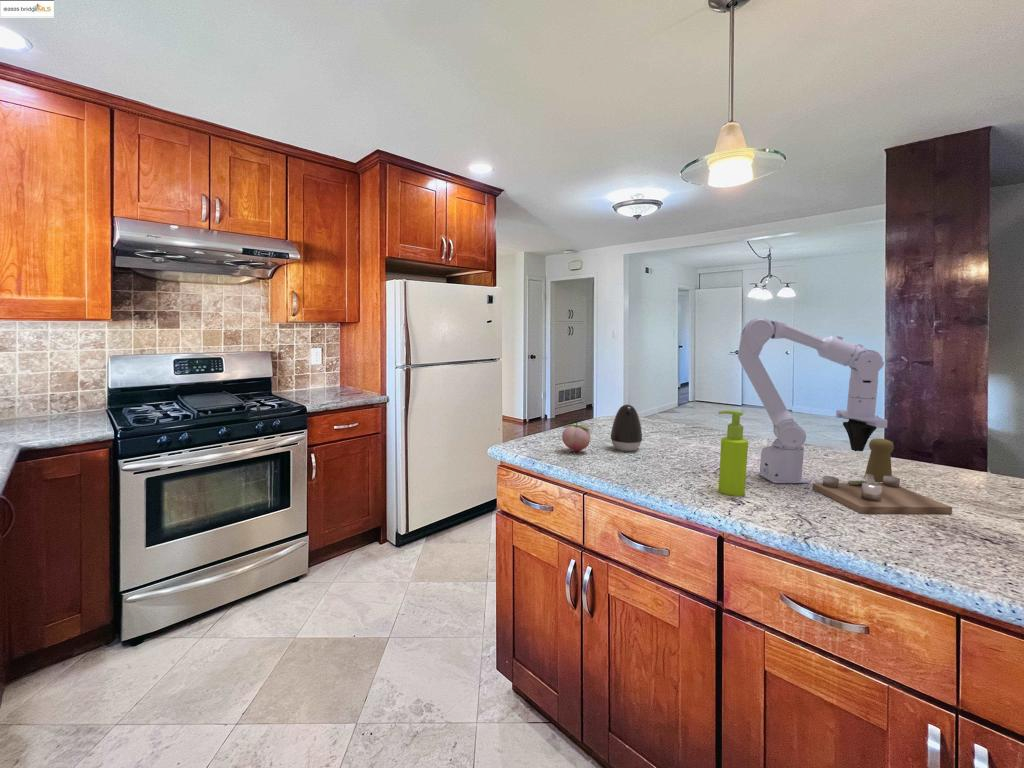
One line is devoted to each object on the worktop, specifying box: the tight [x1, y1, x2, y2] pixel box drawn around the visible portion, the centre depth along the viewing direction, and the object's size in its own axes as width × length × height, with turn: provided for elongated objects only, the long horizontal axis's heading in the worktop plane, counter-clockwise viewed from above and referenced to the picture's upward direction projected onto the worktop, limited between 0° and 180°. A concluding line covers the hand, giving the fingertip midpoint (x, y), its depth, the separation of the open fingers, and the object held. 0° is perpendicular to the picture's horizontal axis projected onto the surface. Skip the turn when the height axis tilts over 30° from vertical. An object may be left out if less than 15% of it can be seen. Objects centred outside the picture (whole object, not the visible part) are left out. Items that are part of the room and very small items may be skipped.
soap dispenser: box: [717, 409, 749, 497], centre depth 114 cm, size 6×7×20 cm
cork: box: [863, 438, 895, 483], centre depth 125 cm, size 6×6×11 cm
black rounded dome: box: [610, 404, 643, 452], centre depth 155 cm, size 10×10×15 cm
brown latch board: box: [812, 475, 953, 515], centre depth 109 cm, size 20×16×4 cm
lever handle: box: [861, 474, 882, 501], centre depth 109 cm, size 12×4×3 cm, turn 145°
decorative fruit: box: [561, 421, 591, 453], centre depth 152 cm, size 9×8×10 cm
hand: (857, 450), depth 118 cm, fingers closed
